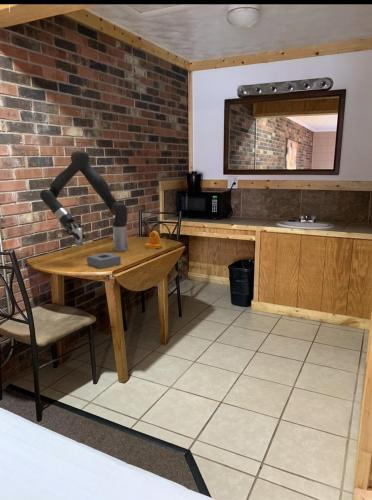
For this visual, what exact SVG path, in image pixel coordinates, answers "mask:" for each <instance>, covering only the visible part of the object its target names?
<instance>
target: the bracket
mask: <svg viewBox="0 0 372 500" xmlns="http://www.w3.org/2000/svg"><path fill="white" fill-rule="evenodd" d="M148 235H149V238H148V240H147V243H145V244H144V248H147V249H148V248H149V249H150V250H156V249H160V248H162V247H163V242H162V240H161V237H160V234H159V232H158V231H156V230H152V231H150V232H149V234H148Z"/></svg>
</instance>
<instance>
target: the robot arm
mask: <svg viewBox="0 0 372 500" xmlns="http://www.w3.org/2000/svg"><path fill="white" fill-rule="evenodd" d="M70 160H71V163H70V164H69V165H68V166H67V167H66V168H65V169H63V170H62V171H61V172H60V173H59V174H58V175H56V177H55V178H54V179H53V180H52V181H51V183H50V184H49V189H46V188H45V189H42V190H41V191H40V192H39V196H40V199H41V200H42V201H43V203H44V204H46V206H47V207H48V208H49V209H50V211H51V213H52V214H53V215H54V217H55V218H56V219H57V221H58V222H59V223H60V224H61V225H62V227H63V228H62V230H63V231H64V232H65V233H66V234H67V235H69V236H73V237H74V238H75V240H76V239H77V240H79V239H80V237H79V235H78V234H77V233H76V231H75V228H82V237H83V239H84V240H85V238H86V235H85V234H84V233H83V232H84V228H83V226H82V223H80V222H79V223H77V222H75V219H74V217H73V216H72V215H71V214H70V213H69V211H68V210H67V209H66V208H65V207H64V206H63V204H61V202H59V200H58V197H59V195H60V192H61V191H62V190H64V188H65V187H66V186H67V184H68V183H69V182H70V180H72V179H73V177H74V176H75V175H76V174H77V173H78V172H81V174H82V175H83V176H84V178H85V179H86V180H87V182H88V183H89V185H90V186H91V187H92V189H93V190H94V192H96V194H97V195H98V196H99V197H100V198H101V200H102V201H103V202H104V204H105V205H106V207H107V209H108V210H109V211H110V213H111V214H112V216H114V215H115V218H114V221H113V222H112V236H113V238H112V241H113V252H119V253H120V252H121V253H122V252H127V251H128V250H129V237H128V236H127V234H128V233H127V232H128V231H127V223H128V207H127V205H126V204H125V203H122V202H118V201H117V199H115V197H114V196H113V194H112V191H111V188H110V185H109V184H108V183H107V181H106V180H105V179H104V177H103V176H102V175H101V174H100V173H98V171H96V170H95V169H94V168H93V167H92V166H91V165H90V163H89V162H90V156H89V154H88V153H87V152H86V151H83V150H77V151H76V150H75V151H73V152H72V153H71V155H70Z"/></svg>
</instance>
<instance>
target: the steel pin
mask: <svg viewBox="0 0 372 500" xmlns="http://www.w3.org/2000/svg"><path fill="white" fill-rule="evenodd" d="M82 228H83V227H82ZM82 228H75V231H76V233H77V234H78V235H79V237H80V239H79V240H77V239H76V238H75V246H79V247H80V246H83V245H84V240H83V237H82V233H83V232H82Z"/></svg>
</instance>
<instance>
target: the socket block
mask: <svg viewBox="0 0 372 500" xmlns="http://www.w3.org/2000/svg"><path fill="white" fill-rule="evenodd" d="M121 257H122V256H121V255H116V254H114V253H110V252H104V253H98V254H93V255H92V254H91V255H87V256H86V258H87V265H88V266H91V267H95V268H98V269H101V270H102V268H103V269H106V268H111V267H114V266H115V265H116V266H119V264H120V265H122V263H121V261H122V260H121ZM116 266H115V267H116Z"/></svg>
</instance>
